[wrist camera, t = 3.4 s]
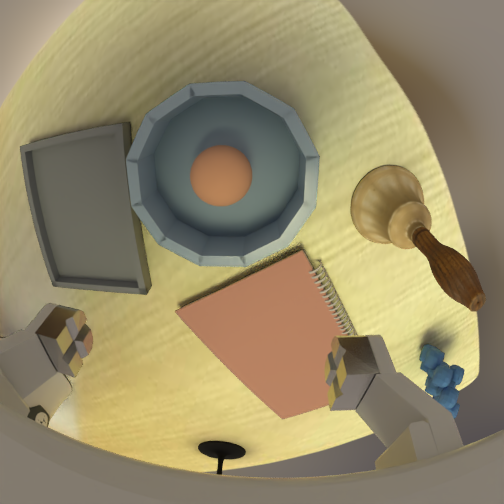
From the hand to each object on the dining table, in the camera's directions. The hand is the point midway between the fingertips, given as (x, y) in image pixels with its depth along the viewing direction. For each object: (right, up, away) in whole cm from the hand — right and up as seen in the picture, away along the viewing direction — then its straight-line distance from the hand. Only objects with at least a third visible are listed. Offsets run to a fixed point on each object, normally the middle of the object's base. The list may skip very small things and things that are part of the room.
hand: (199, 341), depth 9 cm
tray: (-17, +7, +19) cm, 27 cm away
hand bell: (+15, +7, +18) cm, 25 cm away
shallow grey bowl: (-1, +10, +17) cm, 20 cm away
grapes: (+29, -13, +28) cm, 42 cm away
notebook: (+7, -10, +28) cm, 31 cm away
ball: (-1, +10, +17) cm, 19 cm away
